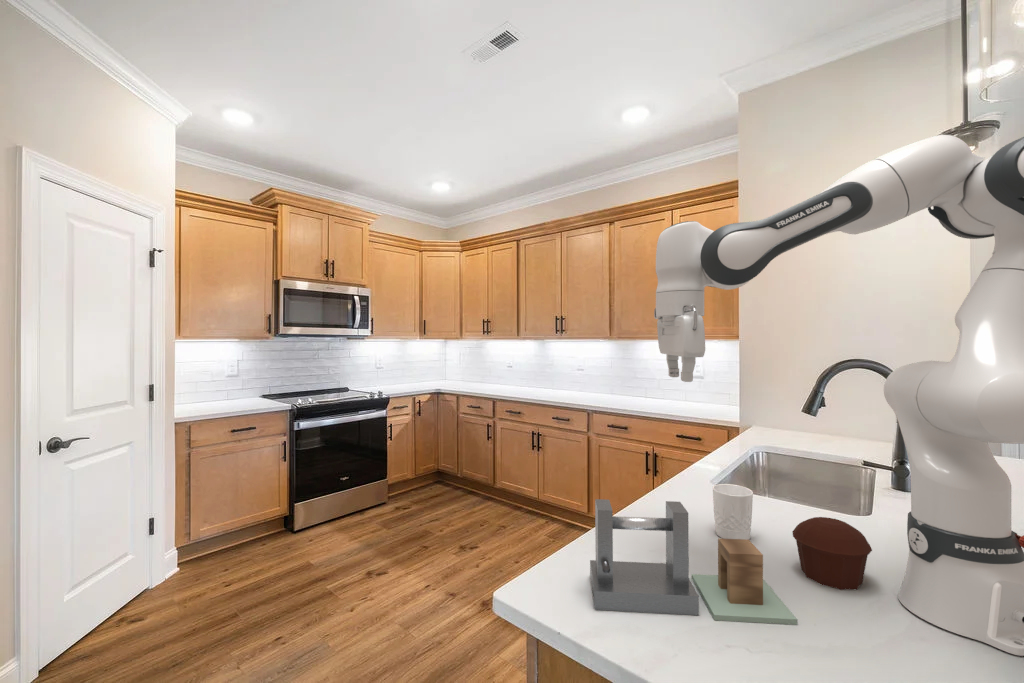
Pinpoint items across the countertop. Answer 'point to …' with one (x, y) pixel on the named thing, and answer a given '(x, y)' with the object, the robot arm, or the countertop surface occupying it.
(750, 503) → the white cup
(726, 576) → the wooden block
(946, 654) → the countertop surface
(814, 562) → the muffin
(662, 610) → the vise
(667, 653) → the countertop surface
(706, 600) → the mat
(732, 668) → the countertop surface
